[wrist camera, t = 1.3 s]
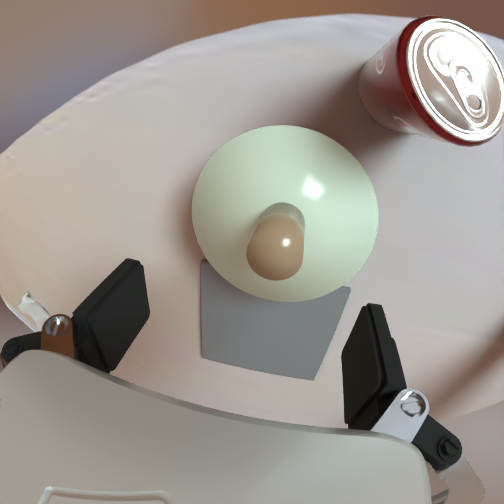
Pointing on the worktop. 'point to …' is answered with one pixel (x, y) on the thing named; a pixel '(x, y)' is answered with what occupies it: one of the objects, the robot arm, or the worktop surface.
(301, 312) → the mat
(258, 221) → the lid
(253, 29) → the worktop surface
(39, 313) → the fabric
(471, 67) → the soda can
